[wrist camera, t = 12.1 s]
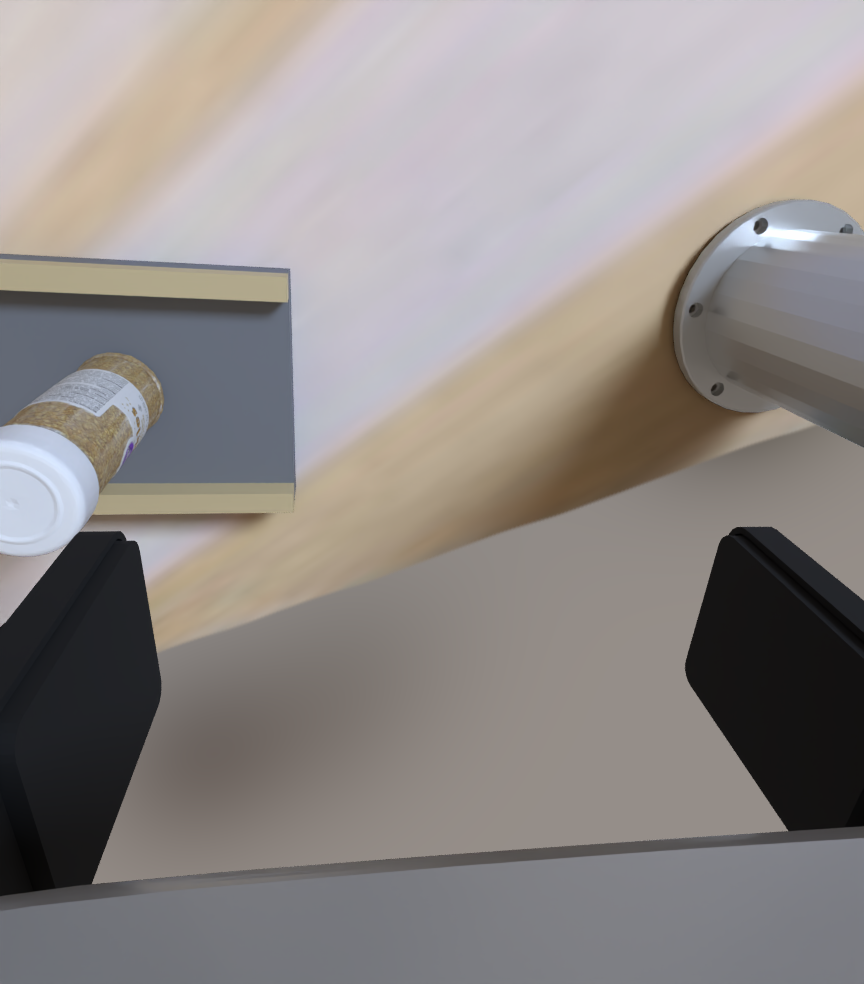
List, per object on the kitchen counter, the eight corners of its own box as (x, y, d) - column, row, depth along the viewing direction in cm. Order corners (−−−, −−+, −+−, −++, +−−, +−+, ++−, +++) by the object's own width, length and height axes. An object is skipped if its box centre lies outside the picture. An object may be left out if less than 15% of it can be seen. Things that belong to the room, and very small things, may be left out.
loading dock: (289, 268, 34) (286, 277, 31) (295, 487, 40) (293, 512, 37) (-84, 249, 31) (-129, 256, 28) (-22, 488, 37) (-54, 516, 34)
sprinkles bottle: (158, 441, 35) (75, 573, 23) (69, 419, 34) (-68, 547, 22) (173, 363, 34) (91, 461, 22) (79, 337, 32) (-63, 427, 20)
